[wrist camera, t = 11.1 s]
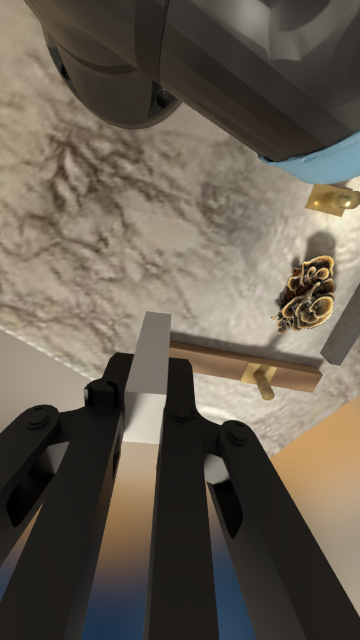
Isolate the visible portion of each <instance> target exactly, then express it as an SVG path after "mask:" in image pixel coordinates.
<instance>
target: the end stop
mask: <svg viewBox="0 0 360 640" xmlns="http://www.w3.org/2000/svg"><path fill="white" fill-rule="evenodd" d="M359 335H360V284H359V286H358V288H357V289H356V291H355V293H354V295H353V296H352V298H351V300H350V302H349V303H348V305H347V307H346V309H345V310H344V312H343V314H342V316H341V317H340V319H339V321H338V323H337V324H336V326H335V328H334V330H333V331H332V333H331V335H330V337H329V338H328V340H327V342H326V344H325V345H324V347H323V349H322V351H321V352H320V354H321V355H322V356H323V357H324V358H325V359H326V360H327V361H328V362H329V363H330V364H334V365H339V366H340V365H341V363H342V362H343V360H344V358H345V357H346V355H347V354H348V352H349V350H350V349H351V347H352V346H353V344H354V343H355V341H356V339H357V338H358V336H359Z"/></svg>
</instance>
